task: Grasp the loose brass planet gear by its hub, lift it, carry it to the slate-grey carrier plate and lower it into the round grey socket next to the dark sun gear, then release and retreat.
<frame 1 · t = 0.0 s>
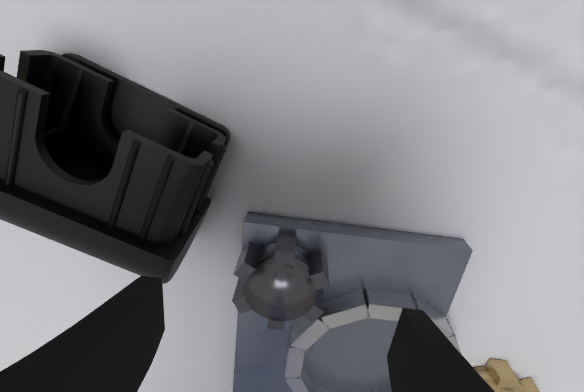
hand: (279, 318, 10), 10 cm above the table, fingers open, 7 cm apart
carrier plate: (333, 325, 24), on the table
end cap: (137, 148, 19), on the table
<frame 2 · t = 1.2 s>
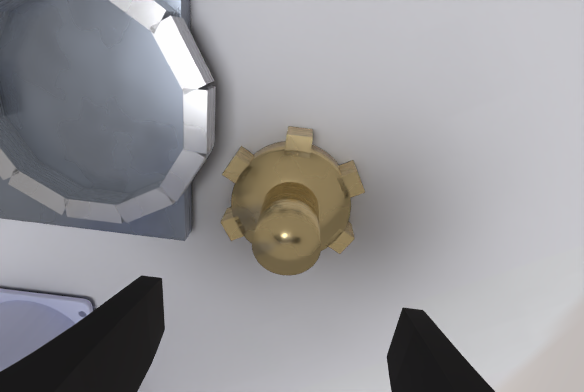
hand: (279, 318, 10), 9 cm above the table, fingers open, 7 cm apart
carrier plate: (56, 70, 16), on the table
planet gear: (292, 194, 19), on the table
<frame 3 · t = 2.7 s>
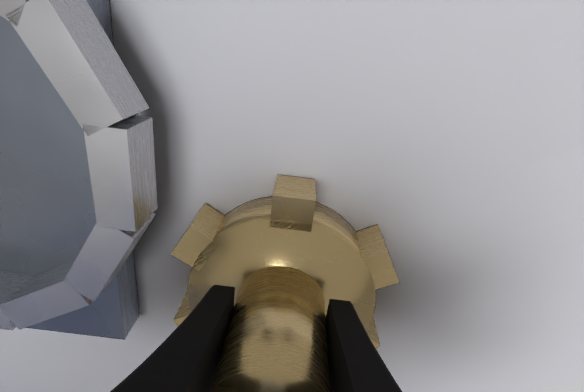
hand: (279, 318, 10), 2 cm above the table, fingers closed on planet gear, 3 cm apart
planet gear: (284, 271, 12), on the table, touching gripper
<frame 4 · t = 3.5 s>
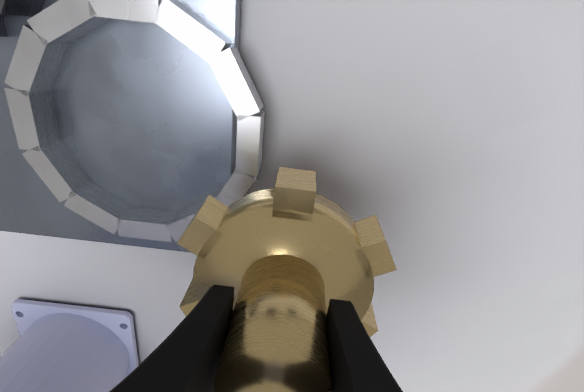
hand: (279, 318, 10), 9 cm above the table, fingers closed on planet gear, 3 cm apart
carrier plate: (108, 95, 17), on the table
planet gear: (285, 260, 13), point 6 cm above the table, touching gripper
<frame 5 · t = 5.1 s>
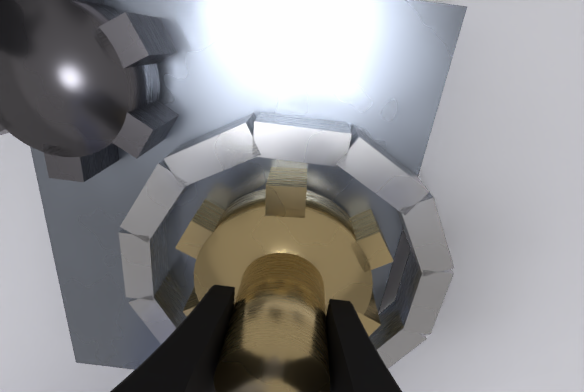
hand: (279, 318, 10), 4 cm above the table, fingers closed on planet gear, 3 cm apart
carrier plate: (227, 215, 14), on the table
planet gear: (285, 260, 13), point 1 cm above the table, touching carrier plate, gripper
when the fingers open (4 cm above the table, at t = 5.6 s): planet gear stays where it is, resting on carrier plate.
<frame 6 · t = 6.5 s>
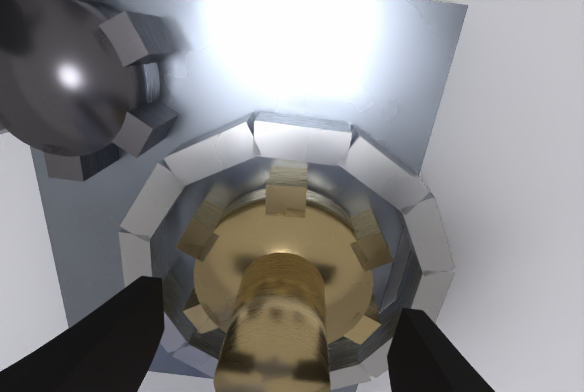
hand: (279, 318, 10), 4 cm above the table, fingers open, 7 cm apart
carrier plate: (227, 215, 14), on the table
planet gear: (285, 259, 13), point 1 cm above the table, touching carrier plate
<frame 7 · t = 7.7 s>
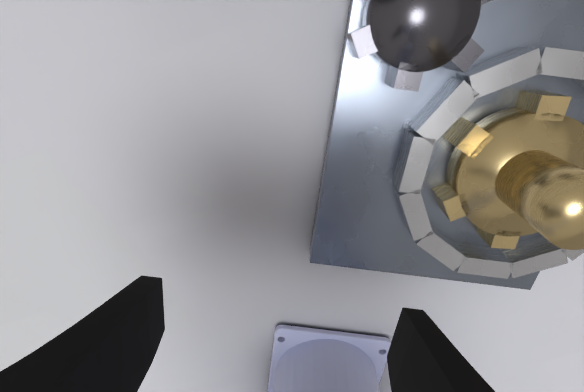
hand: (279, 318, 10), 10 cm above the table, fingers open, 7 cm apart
carrier plate: (455, 137, 18), on the table
planet gear: (508, 167, 17), point 1 cm above the table, touching carrier plate
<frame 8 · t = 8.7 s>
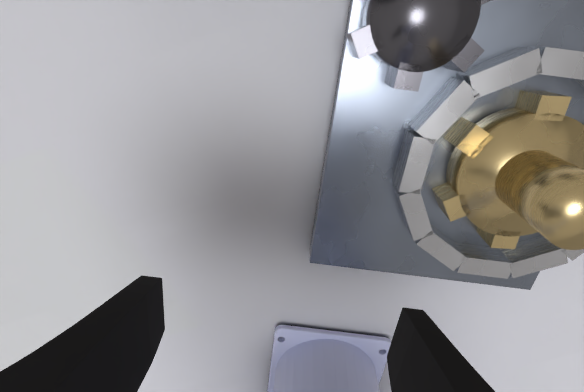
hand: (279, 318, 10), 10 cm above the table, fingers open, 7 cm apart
carrier plate: (455, 137, 18), on the table
planet gear: (508, 167, 17), point 1 cm above the table, touching carrier plate
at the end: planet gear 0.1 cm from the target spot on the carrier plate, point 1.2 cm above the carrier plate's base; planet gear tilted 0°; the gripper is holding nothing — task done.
